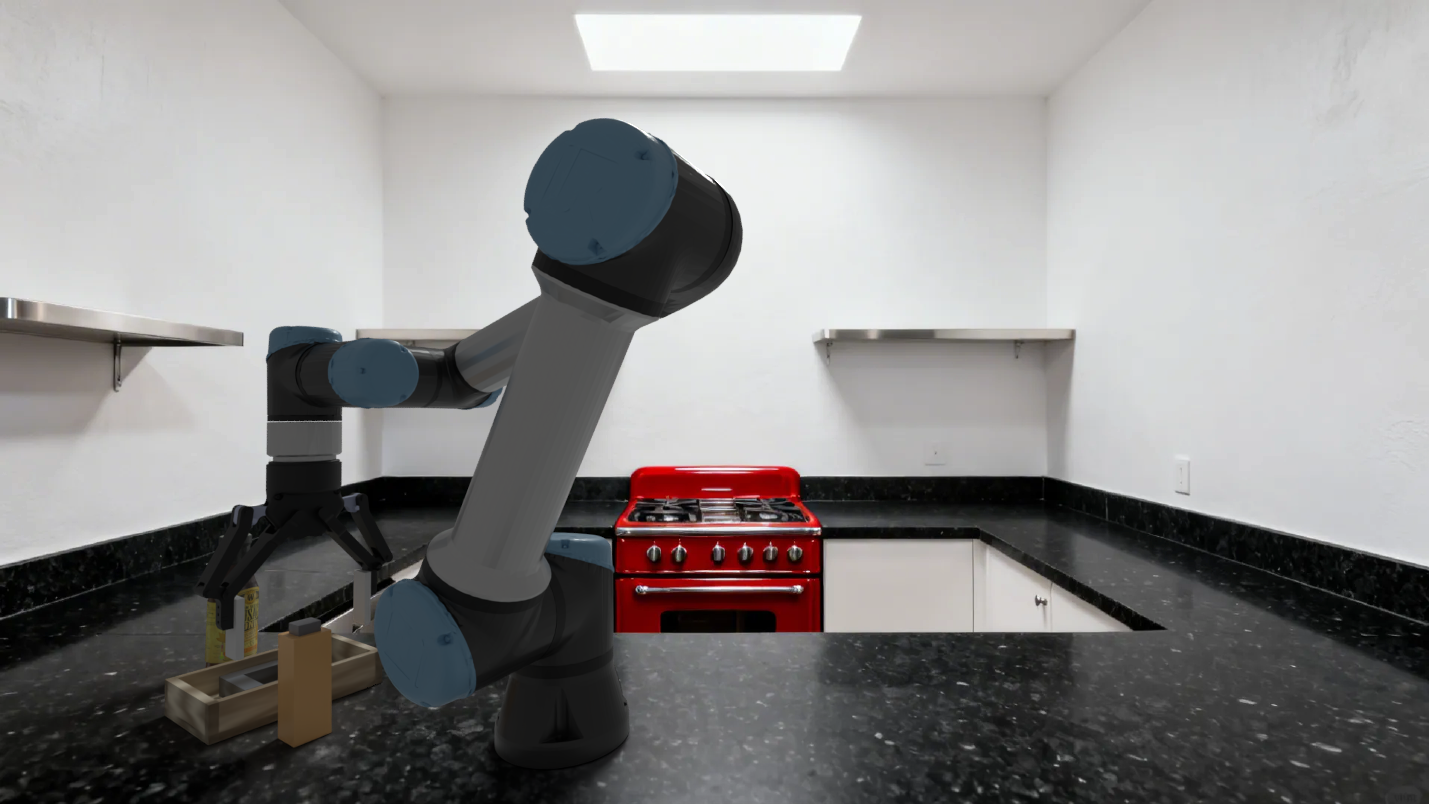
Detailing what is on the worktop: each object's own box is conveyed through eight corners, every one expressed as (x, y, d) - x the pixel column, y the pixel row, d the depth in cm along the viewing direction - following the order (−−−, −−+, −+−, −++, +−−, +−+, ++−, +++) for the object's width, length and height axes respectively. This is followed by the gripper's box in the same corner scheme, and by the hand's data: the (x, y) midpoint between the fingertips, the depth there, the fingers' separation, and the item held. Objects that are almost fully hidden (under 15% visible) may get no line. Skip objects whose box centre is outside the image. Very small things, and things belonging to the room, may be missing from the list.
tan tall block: (331, 732, 74) (331, 619, 74) (294, 747, 71) (294, 629, 71) (315, 723, 76) (315, 614, 77) (277, 738, 73) (278, 623, 73)
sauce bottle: (228, 678, 91) (229, 539, 91) (193, 675, 92) (194, 538, 92) (269, 661, 97) (269, 531, 98) (235, 658, 98) (236, 531, 99)
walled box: (382, 682, 88) (382, 649, 88) (208, 745, 72) (208, 705, 72) (332, 662, 96) (332, 632, 96) (164, 715, 79) (164, 679, 79)
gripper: (390, 451, 87) (389, 606, 86) (158, 464, 66) (155, 667, 66) (422, 453, 83) (420, 615, 82) (184, 467, 62) (181, 684, 62)
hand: (303, 639), depth 74 cm, fingers open, 13 cm apart
